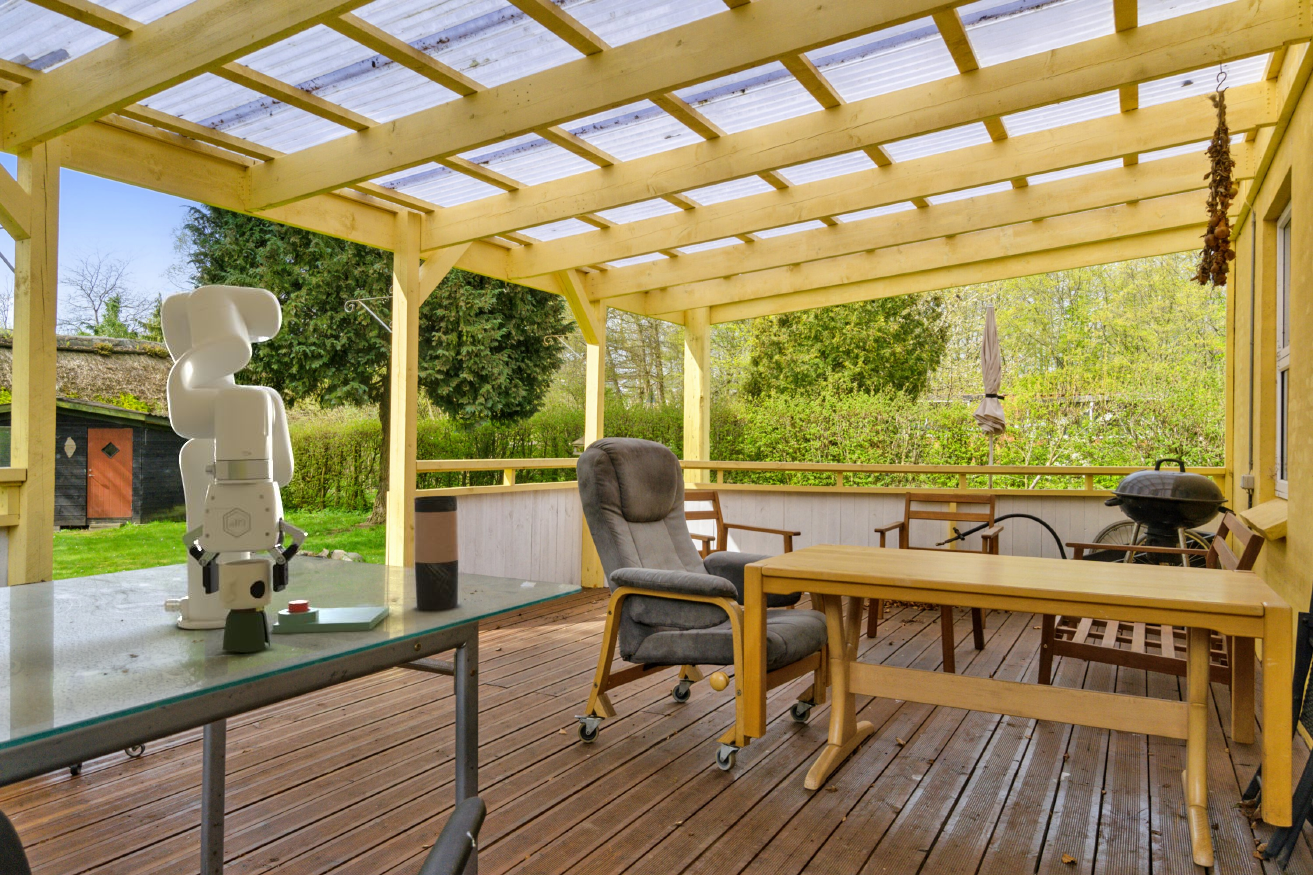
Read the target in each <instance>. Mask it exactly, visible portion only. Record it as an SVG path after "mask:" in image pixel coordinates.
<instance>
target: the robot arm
mask: <svg viewBox="0 0 1313 875" xmlns="http://www.w3.org/2000/svg"><path fill="white" fill-rule="evenodd" d="M282 316H283V315H282V308H281V305H280V301H279V300H278V298H277V296H275V294H274V293H273V292H272V291H270V290H268V289H265V288H259V287H247V286H237V285H236V286H234V285H223V284H209V285H208V284H207V285H202V286H200V287H198V288H195V289H194V290H192V292H191V291H190V292H178V293H175V294H172V295H169V296H168V297H167V298H166V299H164V301H163V303H162V305H161V309H160V323H161V330H162V335H163V339H164V343H165V345H166V348H167V350H168V352H169V355H170V357H171V358H172V360H173V363H174V365H173V366H172V368H171V369H170V372H169V373H168V374H169V375H168V377H167V383H166V397H167V405H168V414H169V420H170V424H171V427H172V429H173V431H174V433H176V435H178V436H180V437H181V438H184V439H190V440H188V441H187V442H185V443H184V444H183V446H182V447H181V449H180V452H179V468H180V474H181V480H182V485H183V491H184V499H185V500H184V501H185V513H186V514H185V516H186V534H183V535H182V536H181V540H182V542H183V544H184V545H185V547H186V568H187V569H186V570H187V578H186V579H187V595H186V596H185V597H181V598H180V599H179V598H177V599H176V598H174V599H173V598H172V599H166V600H165V601H164V604H163V608H164V611H165V613H176V612H179V613H181V616H180V617H178V618H177V627H179V628H182V629H188V630H212V629H223V628H224V629H225V623H226V618H227V615H228V613H229V612H230V609H225V608H221V607H220V604H219V564H220V563H222V562H227V561H234V560H244V559H251V553H259V552H266V551H267V553H268V554H269V555H270V556H271V557H272V558H273V560H274V561H275V564H272V571H273V577H272V592H274V593H280V592H282V591H284V590H285V589H286V588H287V585H288V584H289V581H290V580H289V562H290V561H291V560H292V559H293V557H295V555H297V553H299V552H300V551H301V548H302V546H303V544H304V542H305V541H306V539H307V538H308V533H307V532H306V531H305V530H303V529H301V528H300V527H298V526H296V525H293V524H291V523H290V522H288V521H286V520H285V516H284V509H283V502H282V497H281V492H280V489H282V488H284V487H286V486H287V485H289V484H290V483H291V481H292V479H293V477H294V471H295V462H294V455H293V447H292V443H291V437H290V430H289V424H288V418H287V412H286V408H285V404H284V401H283V398H282V396H281V395H280V393H279V392H278V391H277V390H276V389H274V388H272V387H270V386H263V385H241V384H236V383H235V382H236V381H235V375H234V374H235V373H238V372H240V371H241V370H243V369H244V368H245V367H246V366H248V364H249V363H250V360H251V358H252V355H253V349H252V344H251V343H261V342H266V341H268V340H271V339H273V338H274V337H276V336H277V335H278V334H279V332H280V329H281V326H282V319H283V317H282ZM285 534H286V535H289V536H291V538H292V541H291V543H290V544H289V546H288V547H287V548H285V546H284V543H285V536H286V535H285Z"/></svg>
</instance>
